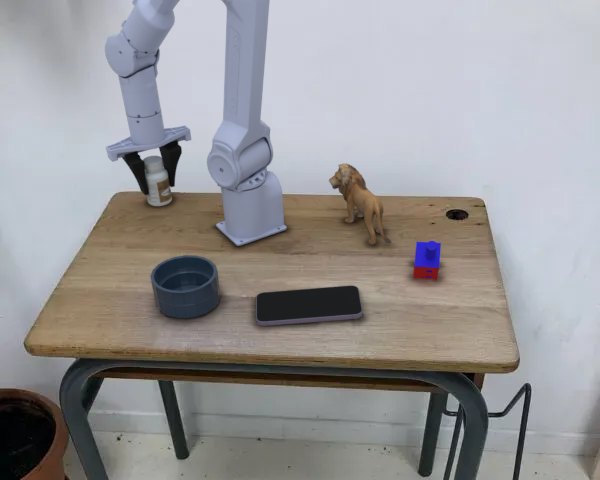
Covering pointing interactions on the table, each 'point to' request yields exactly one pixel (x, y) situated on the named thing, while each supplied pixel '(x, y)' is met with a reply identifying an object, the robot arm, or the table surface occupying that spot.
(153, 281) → the bowl
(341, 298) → the smartphone
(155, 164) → the pill bottle
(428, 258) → the toy building block
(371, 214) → the lion figurine
